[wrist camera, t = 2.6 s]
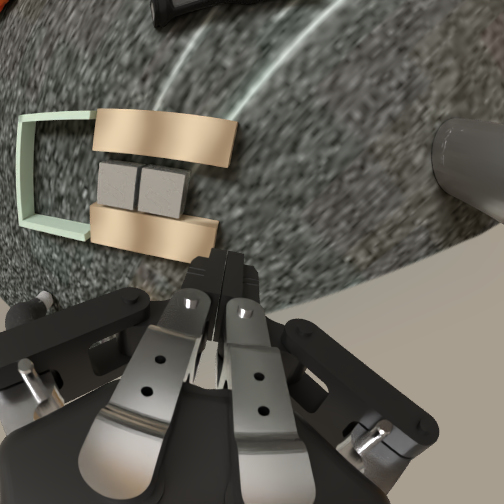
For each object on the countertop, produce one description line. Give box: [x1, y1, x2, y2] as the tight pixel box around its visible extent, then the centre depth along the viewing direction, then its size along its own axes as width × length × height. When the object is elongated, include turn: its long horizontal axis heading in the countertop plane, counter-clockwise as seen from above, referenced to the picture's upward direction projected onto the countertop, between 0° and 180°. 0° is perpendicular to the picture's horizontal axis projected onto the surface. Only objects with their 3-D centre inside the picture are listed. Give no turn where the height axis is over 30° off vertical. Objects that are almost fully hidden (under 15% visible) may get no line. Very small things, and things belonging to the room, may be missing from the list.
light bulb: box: [5, 291, 53, 330], centre depth 26 cm, size 6×6×10 cm
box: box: [16, 111, 97, 241], centre depth 22 cm, size 11×13×2 cm
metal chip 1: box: [97, 159, 146, 210], centre depth 23 cm, size 4×4×2 cm
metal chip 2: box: [138, 164, 191, 219], centre depth 24 cm, size 4×4×2 cm
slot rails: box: [90, 109, 238, 263], centre depth 24 cm, size 13×14×2 cm
